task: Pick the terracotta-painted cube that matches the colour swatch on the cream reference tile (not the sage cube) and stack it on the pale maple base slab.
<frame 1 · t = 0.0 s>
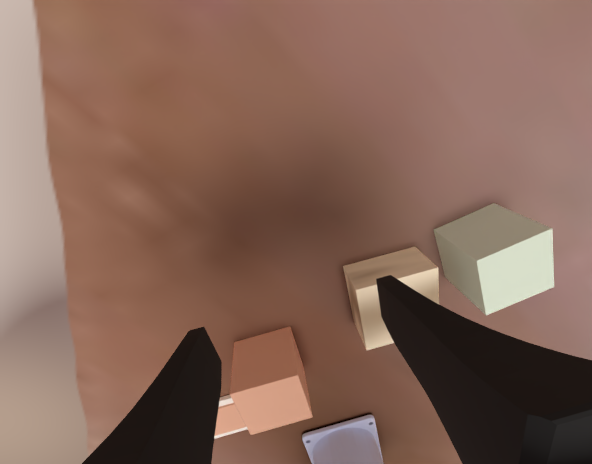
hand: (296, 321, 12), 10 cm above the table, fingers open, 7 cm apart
sage cube: (467, 241, 24), on the table
terracotta cube: (270, 353, 26), on the table
reference tile: (223, 415, 29), on the table
maple base: (381, 284, 25), on the table
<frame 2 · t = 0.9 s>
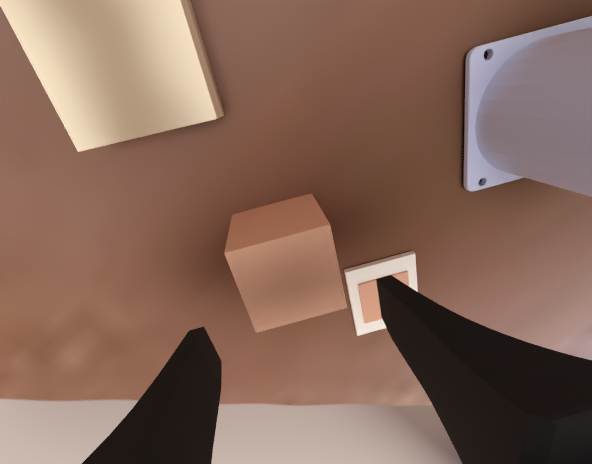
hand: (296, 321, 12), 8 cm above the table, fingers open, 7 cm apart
terracotta cube: (282, 238, 19), on the table
reference tile: (382, 293, 22), on the table
maple base: (146, 64, 14), on the table
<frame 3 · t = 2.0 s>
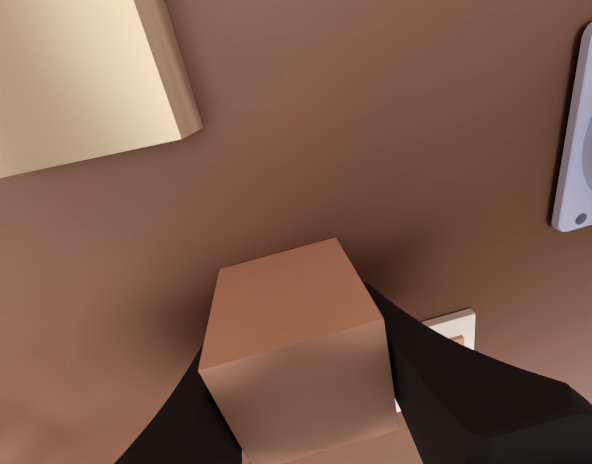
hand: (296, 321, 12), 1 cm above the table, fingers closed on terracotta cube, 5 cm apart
terracotta cube: (292, 299, 13), on the table, touching gripper
reference tile: (425, 361, 16), on the table
maple base: (72, 42, 9), on the table
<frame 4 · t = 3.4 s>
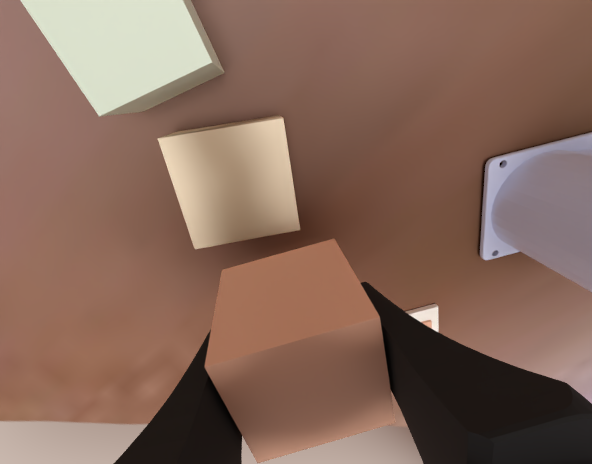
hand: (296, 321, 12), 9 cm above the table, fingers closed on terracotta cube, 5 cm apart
sage cube: (156, 42, 15), on the table
terracotta cube: (292, 298, 14), point 7 cm above the table, touching gripper
reference tile: (408, 336, 26), on the table
maple base: (239, 173, 18), on the table
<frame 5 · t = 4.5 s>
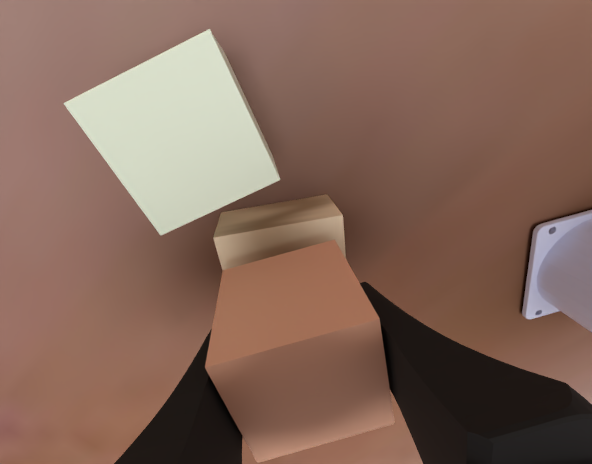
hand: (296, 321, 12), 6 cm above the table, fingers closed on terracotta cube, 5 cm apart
sage cube: (205, 131, 14), on the table
terracotta cube: (292, 299, 14), point 4 cm above the table, touching gripper
maple base: (282, 248, 18), on the table
when the fingers open (6 cm above the table, at t = 5.1 s): terracotta cube drops 1 cm, resting on maple base.
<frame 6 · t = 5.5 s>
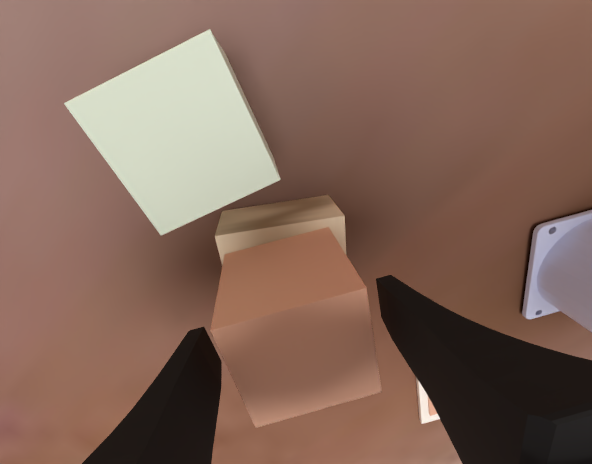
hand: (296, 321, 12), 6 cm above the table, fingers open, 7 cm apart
sage cube: (205, 131, 14), on the table
terracotta cube: (289, 283, 15), point 3 cm above the table, touching maple base
reference tile: (445, 390, 25), on the table
maple base: (282, 247, 18), on the table, touching terracotta cube
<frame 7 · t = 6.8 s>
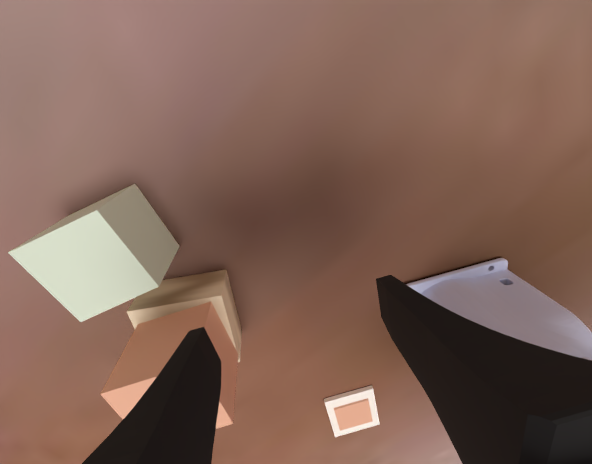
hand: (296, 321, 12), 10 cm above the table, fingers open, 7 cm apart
sage cube: (126, 231, 20), on the table
terracotta cube: (190, 339, 20), point 3 cm above the table, touching maple base
reference tile: (352, 410, 30), on the table
maple base: (196, 305, 23), on the table, touching terracotta cube
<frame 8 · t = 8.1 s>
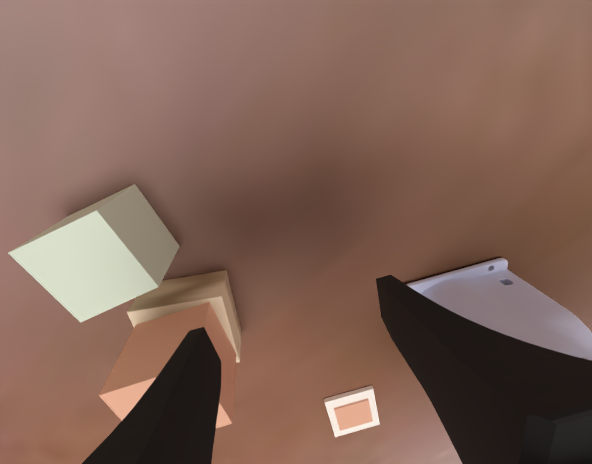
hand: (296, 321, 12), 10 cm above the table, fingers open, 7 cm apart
sage cube: (126, 231, 20), on the table
terracotta cube: (188, 340, 20), point 3 cm above the table, touching maple base
reference tile: (352, 410, 30), on the table
maple base: (196, 306, 23), on the table, touching terracotta cube
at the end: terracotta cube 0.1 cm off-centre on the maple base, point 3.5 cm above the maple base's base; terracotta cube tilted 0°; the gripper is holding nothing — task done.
